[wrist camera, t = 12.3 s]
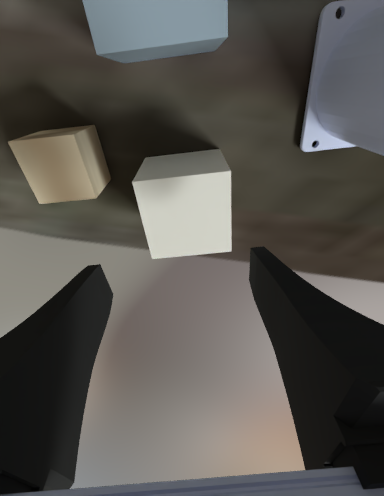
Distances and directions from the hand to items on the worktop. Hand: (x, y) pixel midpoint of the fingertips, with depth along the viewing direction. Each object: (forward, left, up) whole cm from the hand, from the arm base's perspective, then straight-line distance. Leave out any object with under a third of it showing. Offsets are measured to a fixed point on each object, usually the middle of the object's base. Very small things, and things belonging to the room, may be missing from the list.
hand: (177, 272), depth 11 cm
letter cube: (+8, -4, -11) cm, 13 cm away
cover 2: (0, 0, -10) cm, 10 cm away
